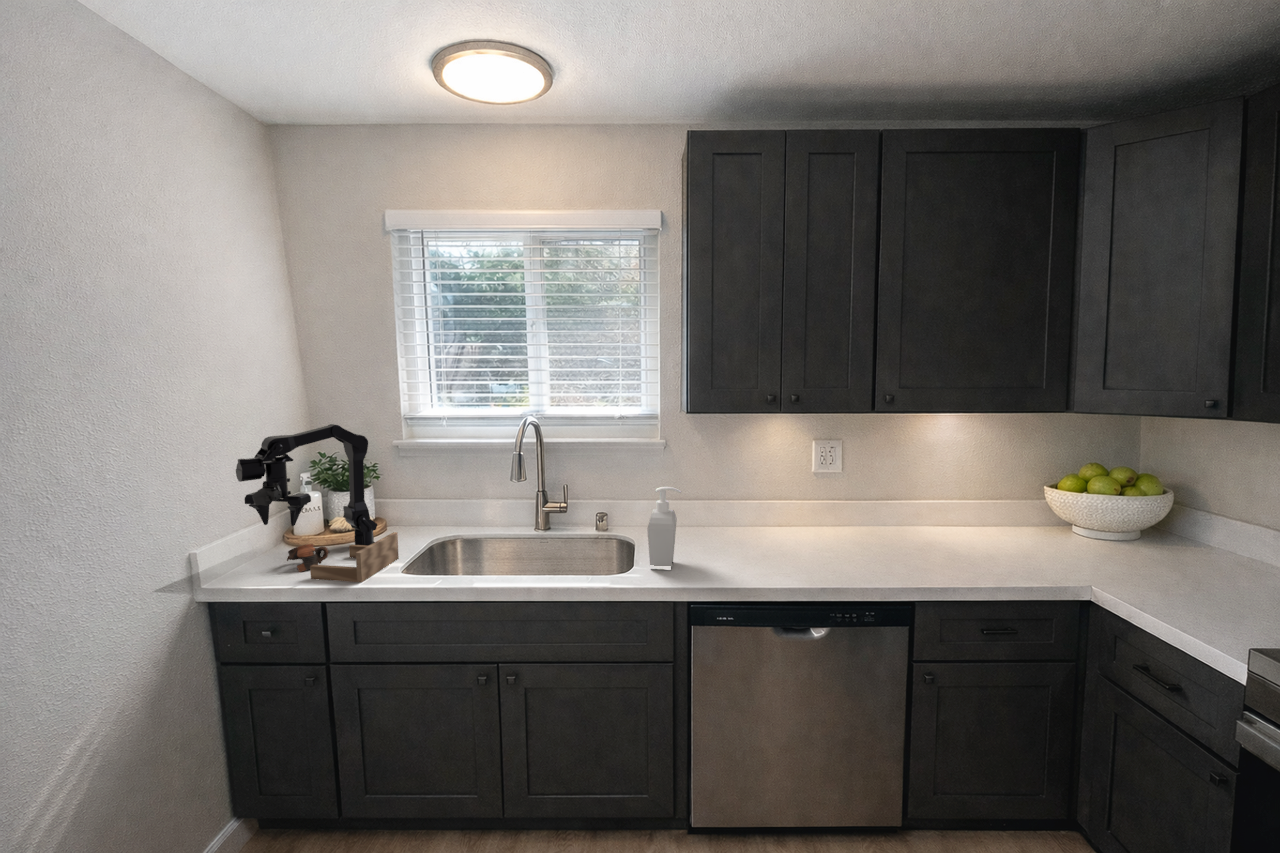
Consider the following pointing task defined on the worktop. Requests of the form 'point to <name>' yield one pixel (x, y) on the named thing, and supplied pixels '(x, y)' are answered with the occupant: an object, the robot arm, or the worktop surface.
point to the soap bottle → (662, 531)
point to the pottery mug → (307, 556)
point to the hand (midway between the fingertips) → (279, 525)
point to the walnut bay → (361, 561)
